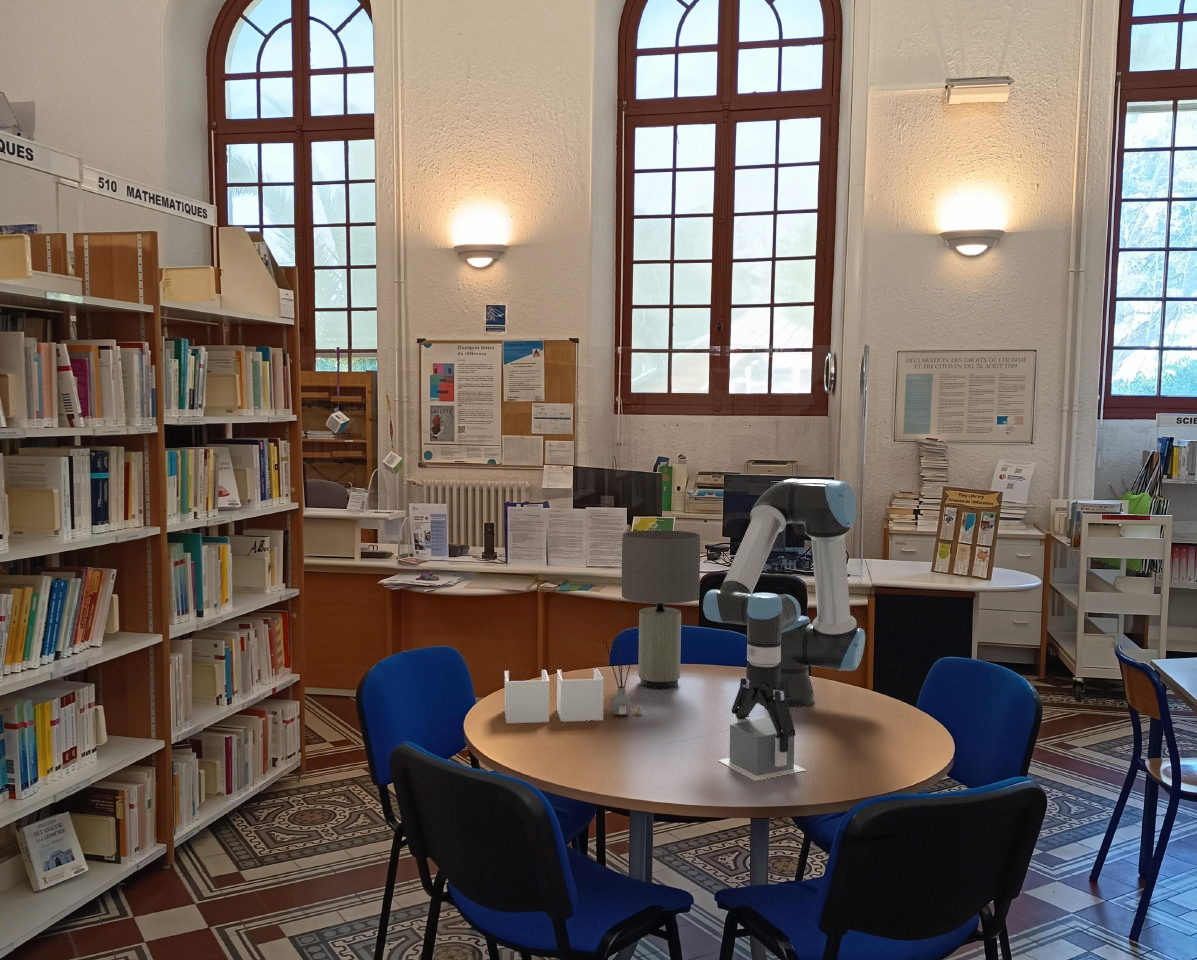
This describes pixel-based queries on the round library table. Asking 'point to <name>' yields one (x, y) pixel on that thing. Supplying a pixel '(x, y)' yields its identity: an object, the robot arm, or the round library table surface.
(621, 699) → the reed diffuser
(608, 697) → the round library table surface
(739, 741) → the block
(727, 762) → the white flat square plate
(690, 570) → the lamp
